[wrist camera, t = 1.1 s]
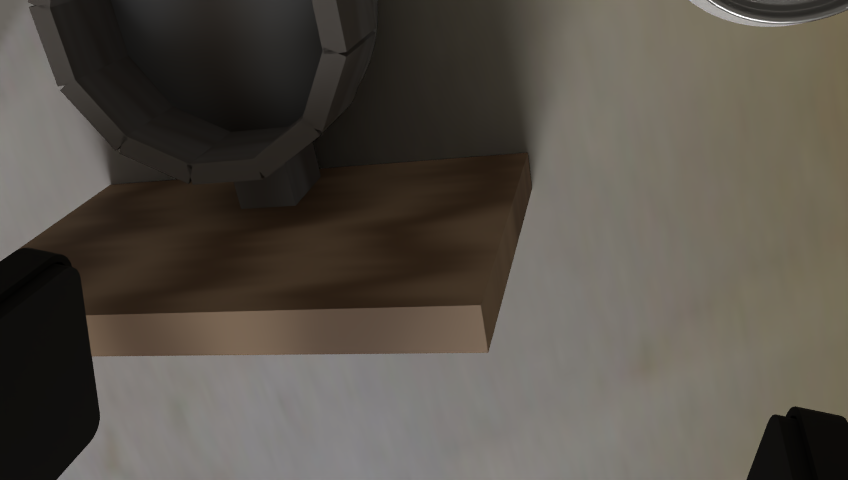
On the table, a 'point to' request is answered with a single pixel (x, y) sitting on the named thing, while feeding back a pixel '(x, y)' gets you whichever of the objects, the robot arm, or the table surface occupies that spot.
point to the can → (772, 10)
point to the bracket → (266, 190)
